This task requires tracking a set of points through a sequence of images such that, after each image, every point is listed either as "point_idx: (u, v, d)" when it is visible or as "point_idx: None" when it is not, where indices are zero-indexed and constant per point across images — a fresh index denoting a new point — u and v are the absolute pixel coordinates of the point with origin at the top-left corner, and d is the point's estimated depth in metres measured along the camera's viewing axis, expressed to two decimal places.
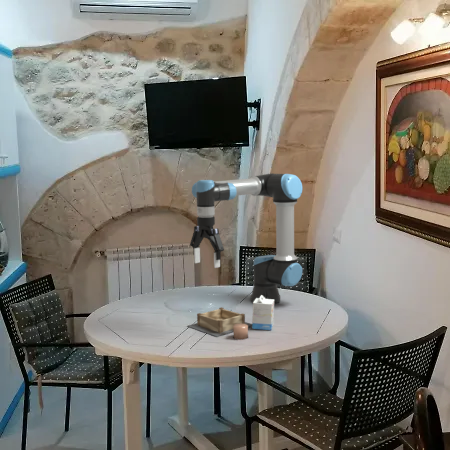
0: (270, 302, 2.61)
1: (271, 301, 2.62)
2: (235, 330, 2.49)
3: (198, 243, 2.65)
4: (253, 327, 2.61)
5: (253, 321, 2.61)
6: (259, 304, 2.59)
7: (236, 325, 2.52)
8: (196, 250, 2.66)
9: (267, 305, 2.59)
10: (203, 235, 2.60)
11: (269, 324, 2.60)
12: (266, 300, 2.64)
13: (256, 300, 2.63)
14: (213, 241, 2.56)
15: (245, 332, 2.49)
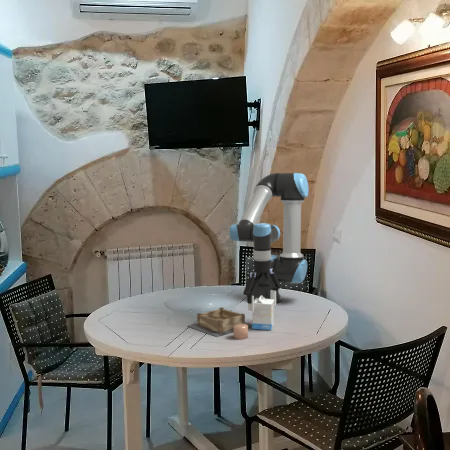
0: (270, 302, 2.61)
1: (271, 301, 2.62)
2: (235, 330, 2.49)
3: (271, 286, 2.66)
4: (253, 327, 2.61)
5: (253, 321, 2.61)
6: (259, 304, 2.59)
7: (236, 325, 2.52)
8: (271, 292, 2.67)
9: (267, 305, 2.58)
10: None
11: (269, 324, 2.60)
12: (266, 300, 2.64)
13: (256, 300, 2.63)
14: (252, 284, 2.59)
15: (245, 332, 2.49)
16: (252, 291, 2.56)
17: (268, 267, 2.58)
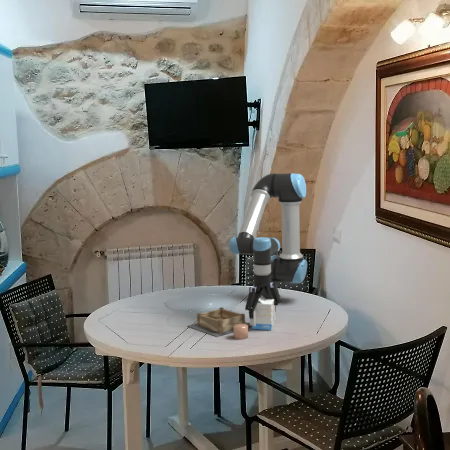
0: (270, 302, 2.61)
1: (270, 301, 2.62)
2: (235, 330, 2.49)
3: None
4: (253, 327, 2.61)
5: None
6: (258, 304, 2.59)
7: (236, 325, 2.52)
8: None
9: (266, 305, 2.58)
10: None
11: (269, 324, 2.59)
12: (265, 300, 2.64)
13: None
14: (253, 299, 2.60)
15: (245, 332, 2.49)
16: (253, 306, 2.58)
17: (268, 281, 2.59)
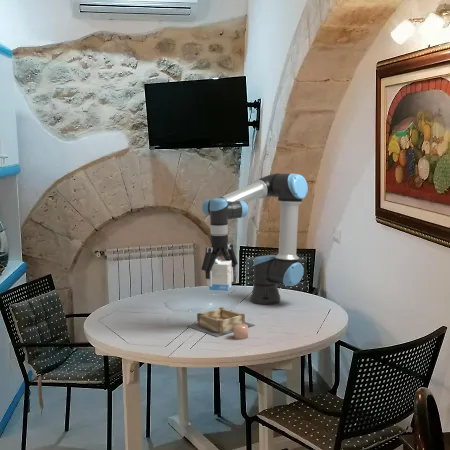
0: (227, 262, 2.61)
1: (228, 262, 2.62)
2: (235, 330, 2.49)
3: None
4: (210, 288, 2.61)
5: None
6: (215, 265, 2.59)
7: (236, 325, 2.52)
8: None
9: (223, 266, 2.58)
10: None
11: (226, 285, 2.60)
12: (223, 261, 2.64)
13: None
14: (210, 260, 2.60)
15: (245, 332, 2.49)
16: (210, 266, 2.58)
17: (225, 242, 2.59)
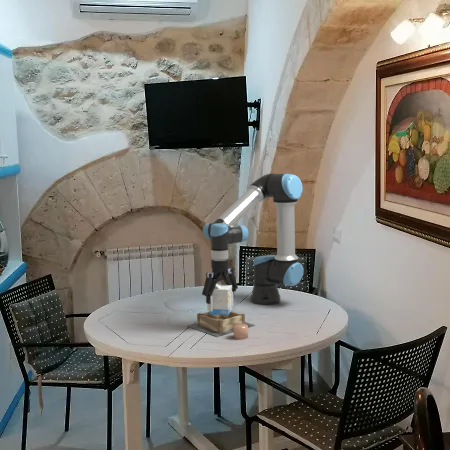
0: (227, 287, 2.63)
1: (228, 287, 2.64)
2: (235, 330, 2.49)
3: None
4: (210, 313, 2.63)
5: None
6: (216, 290, 2.61)
7: (236, 325, 2.52)
8: None
9: (223, 291, 2.60)
10: None
11: (226, 309, 2.61)
12: (223, 286, 2.65)
13: None
14: (210, 284, 2.62)
15: (245, 332, 2.49)
16: (210, 291, 2.60)
17: (225, 267, 2.61)
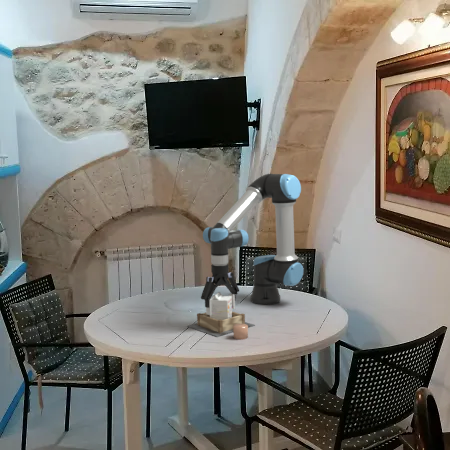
0: (227, 298, 2.64)
1: (228, 298, 2.65)
2: (235, 330, 2.49)
3: (230, 289, 2.69)
4: None
5: None
6: (215, 301, 2.62)
7: (236, 325, 2.52)
8: None
9: (223, 302, 2.61)
10: None
11: None
12: (223, 297, 2.66)
13: (213, 297, 2.66)
14: (210, 289, 2.62)
15: (245, 332, 2.49)
16: (209, 295, 2.59)
17: (225, 271, 2.61)
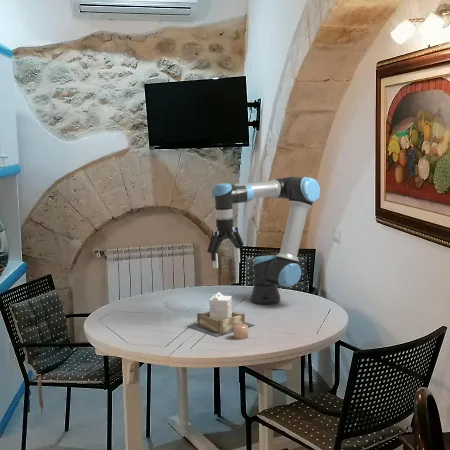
0: (227, 298, 2.64)
1: (228, 298, 2.65)
2: (235, 330, 2.49)
3: (234, 243, 2.75)
4: None
5: None
6: (215, 301, 2.62)
7: (236, 325, 2.52)
8: (235, 250, 2.77)
9: (223, 302, 2.61)
10: None
11: None
12: (223, 297, 2.66)
13: (213, 297, 2.66)
14: (216, 242, 2.68)
15: (245, 332, 2.49)
16: (215, 249, 2.66)
17: (230, 225, 2.68)
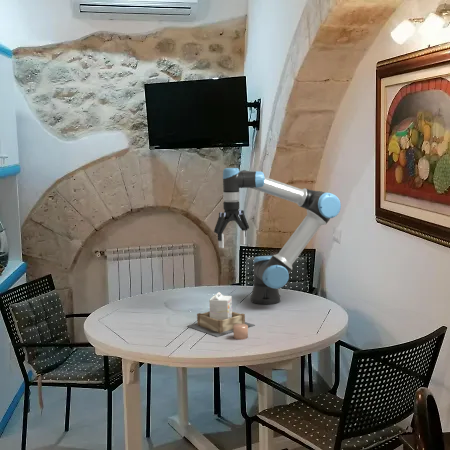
0: (227, 298, 2.64)
1: (228, 298, 2.65)
2: (235, 330, 2.49)
3: (240, 226, 2.89)
4: None
5: None
6: (215, 301, 2.62)
7: (236, 325, 2.52)
8: (241, 232, 2.90)
9: (223, 302, 2.61)
10: None
11: None
12: (223, 297, 2.66)
13: (213, 297, 2.66)
14: (222, 223, 2.82)
15: (245, 332, 2.49)
16: (222, 229, 2.79)
17: (236, 207, 2.81)
